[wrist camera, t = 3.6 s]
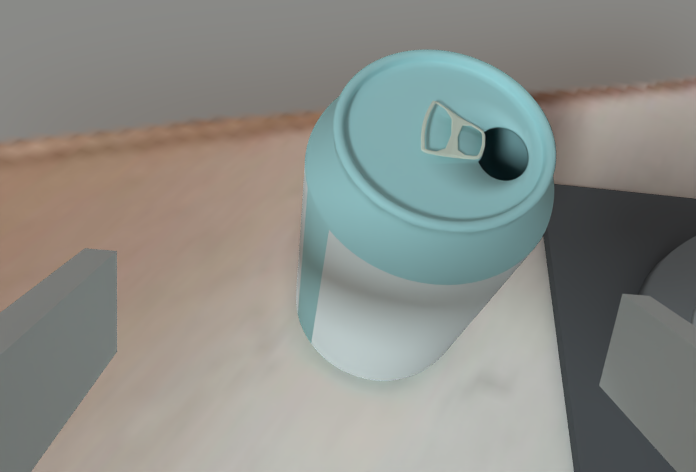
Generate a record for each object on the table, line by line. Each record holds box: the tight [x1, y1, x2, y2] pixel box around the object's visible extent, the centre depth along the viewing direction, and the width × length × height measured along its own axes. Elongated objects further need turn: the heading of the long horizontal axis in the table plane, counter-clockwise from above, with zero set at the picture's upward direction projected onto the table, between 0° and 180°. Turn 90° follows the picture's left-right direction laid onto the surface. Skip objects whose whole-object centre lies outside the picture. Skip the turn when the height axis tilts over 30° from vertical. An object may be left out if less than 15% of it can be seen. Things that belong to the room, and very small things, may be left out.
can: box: [296, 50, 556, 381], centre depth 20 cm, size 7×7×12 cm
